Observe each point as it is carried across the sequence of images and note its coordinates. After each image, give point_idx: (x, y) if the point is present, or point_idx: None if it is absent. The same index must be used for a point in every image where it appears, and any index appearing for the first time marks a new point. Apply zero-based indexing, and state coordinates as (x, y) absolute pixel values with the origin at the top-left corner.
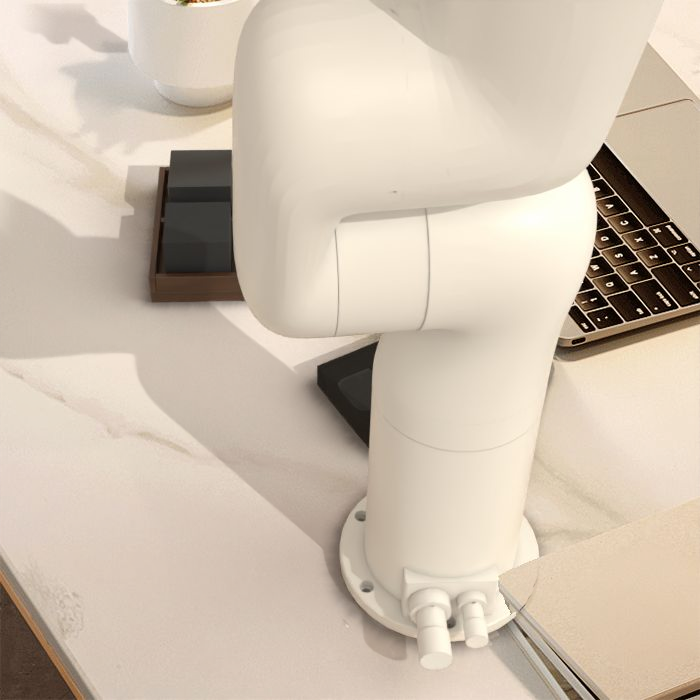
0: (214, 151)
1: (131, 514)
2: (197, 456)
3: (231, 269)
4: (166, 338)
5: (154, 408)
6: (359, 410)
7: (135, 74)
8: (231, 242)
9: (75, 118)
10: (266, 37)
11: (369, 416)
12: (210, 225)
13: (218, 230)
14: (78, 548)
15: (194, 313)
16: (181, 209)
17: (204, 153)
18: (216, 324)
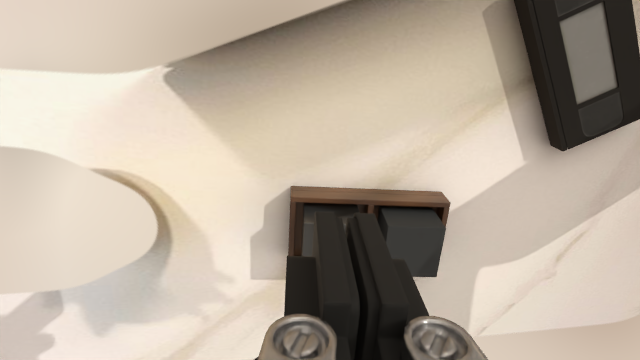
0: (306, 238)
1: (621, 263)
2: (589, 227)
3: (421, 208)
4: (470, 247)
5: (537, 253)
6: (622, 123)
7: (100, 279)
8: (397, 211)
9: (179, 320)
10: None
11: (630, 115)
12: (419, 242)
13: (428, 235)
14: (634, 288)
15: (447, 229)
16: None
17: (309, 246)
18: (463, 214)
